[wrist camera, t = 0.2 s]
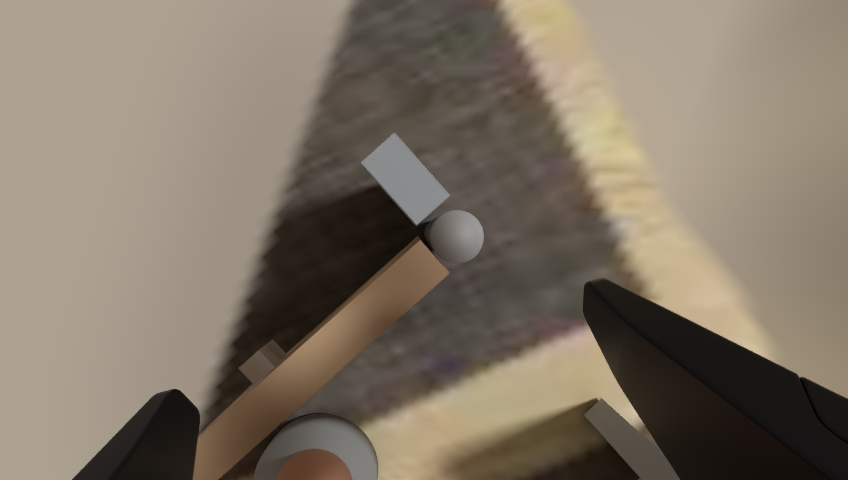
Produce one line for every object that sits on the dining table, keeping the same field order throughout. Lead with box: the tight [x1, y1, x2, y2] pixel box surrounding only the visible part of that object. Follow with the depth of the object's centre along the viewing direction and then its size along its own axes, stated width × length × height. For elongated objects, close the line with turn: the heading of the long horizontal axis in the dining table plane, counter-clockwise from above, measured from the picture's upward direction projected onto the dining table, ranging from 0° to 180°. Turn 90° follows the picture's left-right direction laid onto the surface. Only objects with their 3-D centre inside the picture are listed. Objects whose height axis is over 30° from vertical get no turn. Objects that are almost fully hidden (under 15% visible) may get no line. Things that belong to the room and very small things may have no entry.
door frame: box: [361, 133, 680, 480], centre depth 18 cm, size 24×2×10 cm, turn 42°
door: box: [193, 210, 484, 480], centre depth 18 cm, size 15×3×10 cm, turn 132°
